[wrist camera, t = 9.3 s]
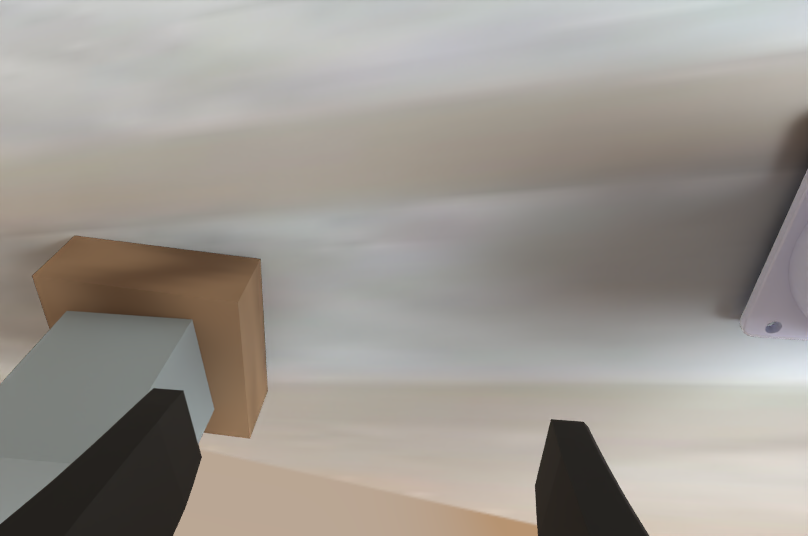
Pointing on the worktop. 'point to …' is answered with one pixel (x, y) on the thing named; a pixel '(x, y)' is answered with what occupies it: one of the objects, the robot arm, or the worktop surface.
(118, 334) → the slate block
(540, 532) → the robot arm
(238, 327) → the walnut plinth
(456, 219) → the worktop surface
